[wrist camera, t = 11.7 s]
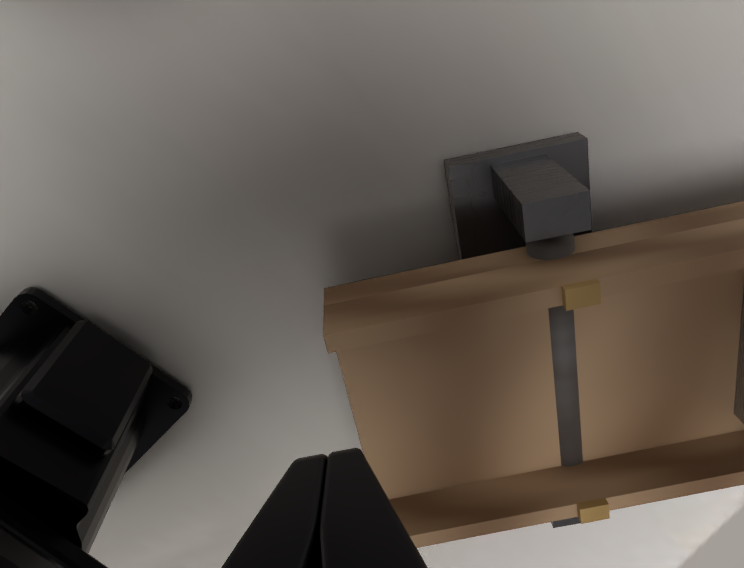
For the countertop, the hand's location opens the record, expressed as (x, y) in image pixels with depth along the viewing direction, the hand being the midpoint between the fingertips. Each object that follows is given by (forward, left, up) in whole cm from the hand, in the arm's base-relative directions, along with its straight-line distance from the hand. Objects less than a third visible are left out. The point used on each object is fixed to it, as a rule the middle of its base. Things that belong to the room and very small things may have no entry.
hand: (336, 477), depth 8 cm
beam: (+4, -9, -9) cm, 13 cm away
